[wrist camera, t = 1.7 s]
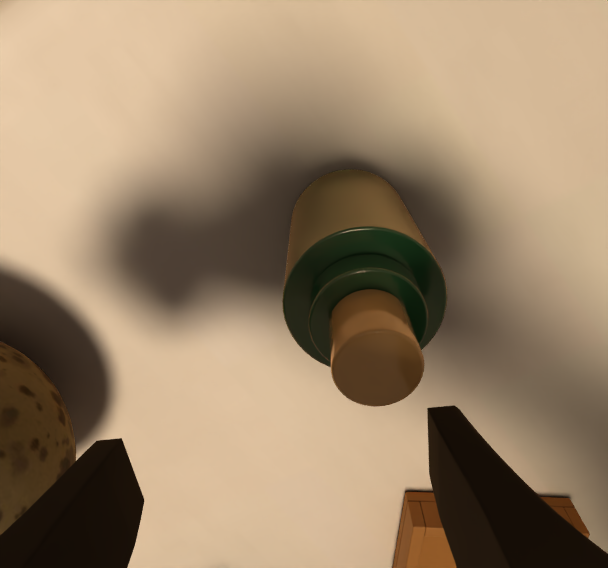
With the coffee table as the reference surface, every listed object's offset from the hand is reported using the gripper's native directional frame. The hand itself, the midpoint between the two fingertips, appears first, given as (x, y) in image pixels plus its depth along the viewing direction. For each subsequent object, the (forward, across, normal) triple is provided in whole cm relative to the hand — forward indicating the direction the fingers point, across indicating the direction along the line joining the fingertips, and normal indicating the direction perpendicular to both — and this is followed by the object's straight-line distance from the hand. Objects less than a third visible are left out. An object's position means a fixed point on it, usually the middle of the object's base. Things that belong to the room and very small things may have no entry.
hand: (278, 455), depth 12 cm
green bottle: (+10, -3, -2) cm, 10 cm away
